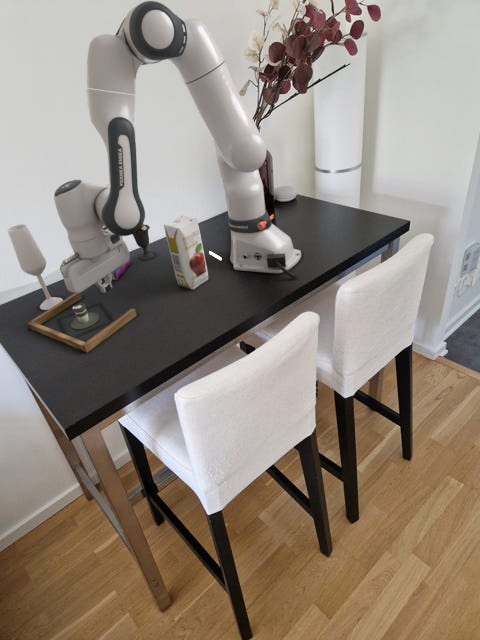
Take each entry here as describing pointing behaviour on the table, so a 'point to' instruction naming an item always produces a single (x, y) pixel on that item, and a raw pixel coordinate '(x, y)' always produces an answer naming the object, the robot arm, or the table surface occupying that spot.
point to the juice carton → (186, 251)
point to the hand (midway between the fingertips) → (107, 290)
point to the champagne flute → (31, 259)
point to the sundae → (143, 241)
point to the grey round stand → (83, 317)
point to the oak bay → (71, 341)
